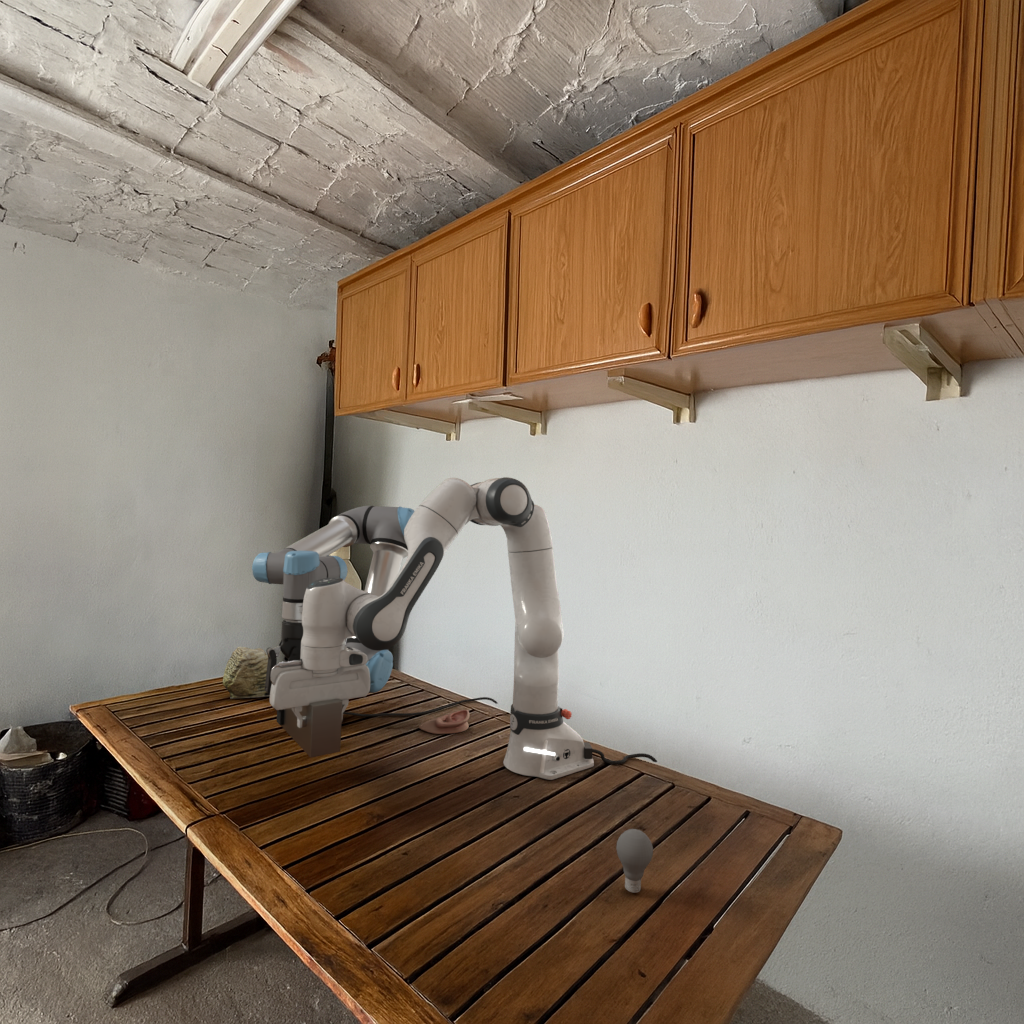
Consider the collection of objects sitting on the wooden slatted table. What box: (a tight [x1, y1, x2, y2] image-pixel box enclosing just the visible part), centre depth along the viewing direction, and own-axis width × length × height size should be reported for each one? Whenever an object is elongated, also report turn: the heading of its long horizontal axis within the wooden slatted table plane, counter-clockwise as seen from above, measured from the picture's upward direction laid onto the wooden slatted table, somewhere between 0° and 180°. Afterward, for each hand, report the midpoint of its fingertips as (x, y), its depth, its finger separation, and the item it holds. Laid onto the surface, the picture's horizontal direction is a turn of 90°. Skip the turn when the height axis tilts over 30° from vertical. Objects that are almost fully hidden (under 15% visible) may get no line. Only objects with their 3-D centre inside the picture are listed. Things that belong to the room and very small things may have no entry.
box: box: [280, 699, 343, 759], centre depth 137 cm, size 23×6×10 cm, turn 36°
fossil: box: [222, 646, 270, 699], centre depth 198 cm, size 9×18×15 cm, turn 132°
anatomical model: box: [418, 709, 471, 735], centre depth 177 cm, size 13×4×12 cm
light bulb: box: [615, 828, 654, 894], centre depth 106 cm, size 6×6×10 cm
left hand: (295, 720), depth 144 cm, fingers closed on box, 6 cm apart
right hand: (320, 723), depth 131 cm, fingers closed on box, 6 cm apart
